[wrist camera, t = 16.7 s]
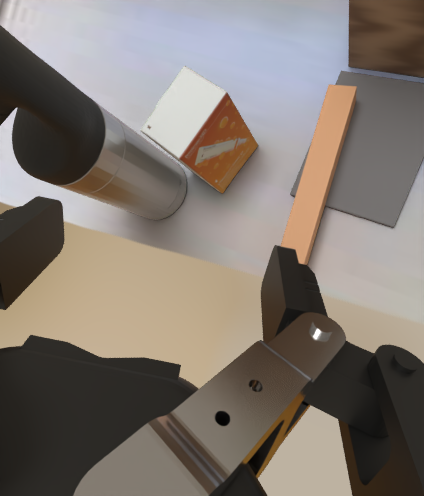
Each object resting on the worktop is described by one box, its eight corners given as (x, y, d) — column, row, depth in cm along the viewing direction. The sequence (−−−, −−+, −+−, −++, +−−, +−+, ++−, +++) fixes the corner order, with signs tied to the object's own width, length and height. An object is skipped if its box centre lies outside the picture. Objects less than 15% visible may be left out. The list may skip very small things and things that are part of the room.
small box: (223, 195, 45) (178, 160, 33) (191, 170, 47) (137, 130, 35) (260, 145, 44) (227, 90, 32) (225, 122, 46) (182, 63, 34)
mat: (290, 195, 41) (290, 193, 41) (341, 73, 41) (341, 70, 40) (393, 227, 37) (393, 226, 36) (451, 90, 36) (453, 87, 35)
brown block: (302, 279, 39) (278, 272, 40) (356, 100, 39) (330, 98, 40) (299, 279, 36) (273, 271, 37) (356, 86, 36) (328, 84, 37)
